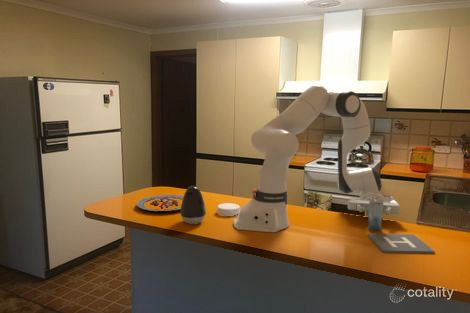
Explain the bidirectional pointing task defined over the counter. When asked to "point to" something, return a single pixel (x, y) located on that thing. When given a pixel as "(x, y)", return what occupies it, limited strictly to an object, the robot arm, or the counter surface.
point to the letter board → (400, 243)
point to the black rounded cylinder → (193, 206)
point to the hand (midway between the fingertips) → (374, 211)
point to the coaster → (228, 209)
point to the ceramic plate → (163, 199)
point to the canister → (375, 214)
